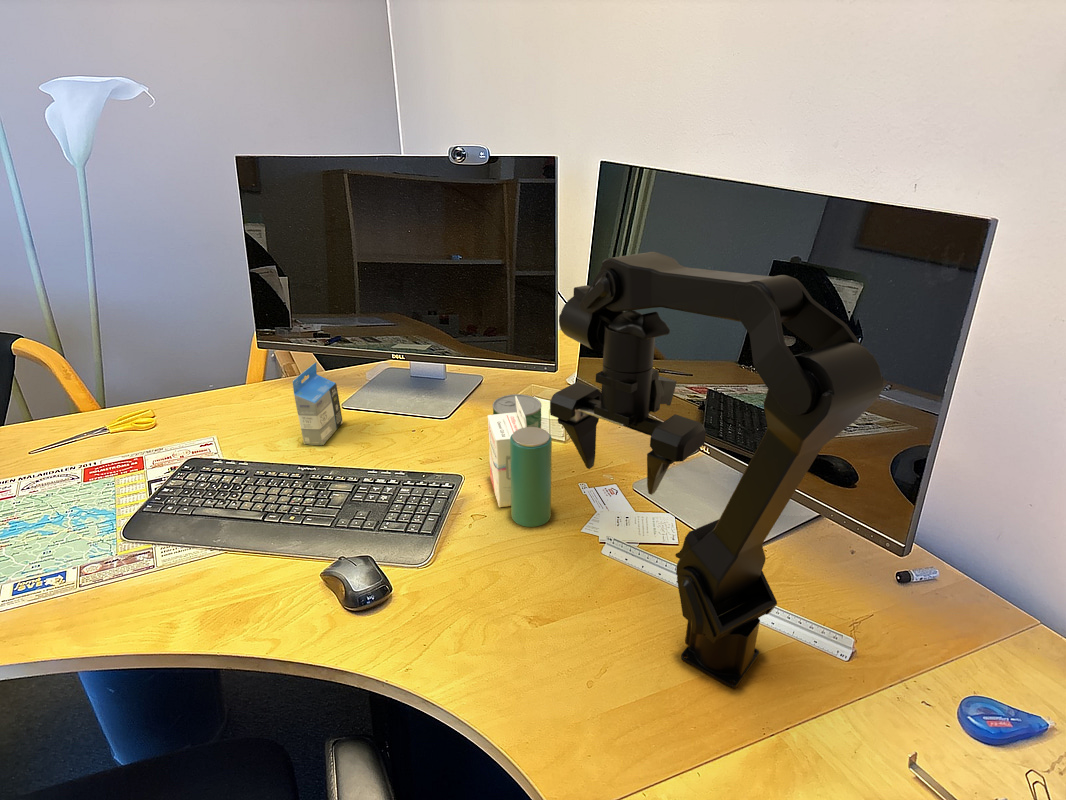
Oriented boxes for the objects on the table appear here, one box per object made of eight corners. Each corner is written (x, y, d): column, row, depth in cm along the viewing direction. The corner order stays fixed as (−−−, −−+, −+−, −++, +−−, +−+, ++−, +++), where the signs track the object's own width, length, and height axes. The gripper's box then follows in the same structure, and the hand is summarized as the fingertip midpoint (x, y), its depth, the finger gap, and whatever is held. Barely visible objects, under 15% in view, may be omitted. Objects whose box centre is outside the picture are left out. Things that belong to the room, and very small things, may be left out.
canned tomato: (549, 458, 114) (550, 399, 110) (527, 480, 108) (527, 419, 103) (508, 447, 118) (507, 390, 113) (485, 468, 111) (483, 408, 107)
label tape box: (323, 446, 118) (313, 382, 113) (301, 444, 119) (290, 380, 113) (343, 423, 126) (335, 362, 121) (323, 422, 126) (314, 361, 121)
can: (551, 526, 97) (552, 445, 91) (511, 527, 96) (509, 446, 91) (549, 503, 102) (550, 425, 96) (511, 504, 102) (510, 426, 96)
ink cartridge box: (488, 479, 108) (485, 396, 102) (518, 475, 109) (517, 393, 103) (497, 508, 101) (495, 421, 94) (530, 504, 102) (529, 417, 95)
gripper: (734, 363, 77) (718, 479, 84) (601, 328, 88) (596, 433, 95) (687, 394, 69) (674, 519, 76) (547, 352, 80) (546, 464, 87)
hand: (620, 479), depth 84 cm, fingers open, 9 cm apart
